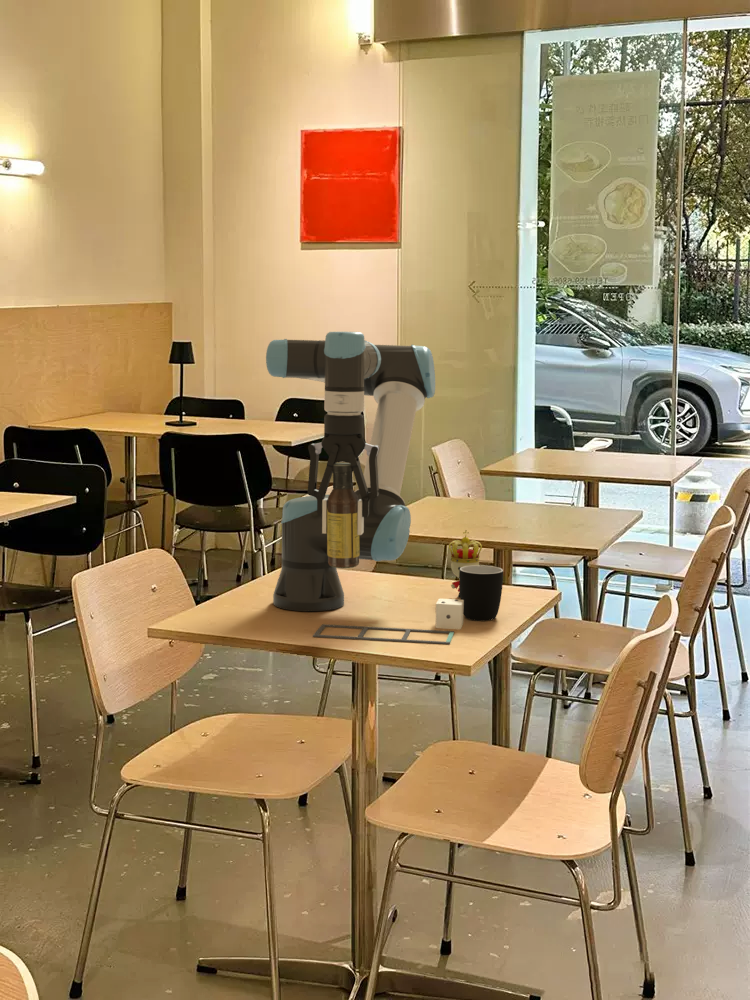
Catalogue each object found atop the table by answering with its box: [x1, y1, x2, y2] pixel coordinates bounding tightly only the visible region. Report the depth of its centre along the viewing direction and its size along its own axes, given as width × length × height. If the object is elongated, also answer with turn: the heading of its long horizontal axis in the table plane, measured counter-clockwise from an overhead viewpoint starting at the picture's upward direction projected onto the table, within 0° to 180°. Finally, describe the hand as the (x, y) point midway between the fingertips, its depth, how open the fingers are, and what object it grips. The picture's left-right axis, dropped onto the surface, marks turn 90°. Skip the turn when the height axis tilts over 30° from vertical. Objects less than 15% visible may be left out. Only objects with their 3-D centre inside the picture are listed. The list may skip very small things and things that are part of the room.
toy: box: [448, 529, 483, 598], centre depth 279 cm, size 7×7×15 cm
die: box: [435, 598, 464, 630], centre depth 253 cm, size 5×5×5 cm
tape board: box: [312, 623, 455, 645], centre depth 245 cm, size 9×26×1 cm, turn 81°
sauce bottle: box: [327, 462, 360, 569], centre depth 243 cm, size 6×6×20 cm
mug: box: [458, 564, 504, 622], centre depth 261 cm, size 12×9×10 cm
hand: (342, 532), depth 244 cm, fingers closed on sauce bottle, 6 cm apart
